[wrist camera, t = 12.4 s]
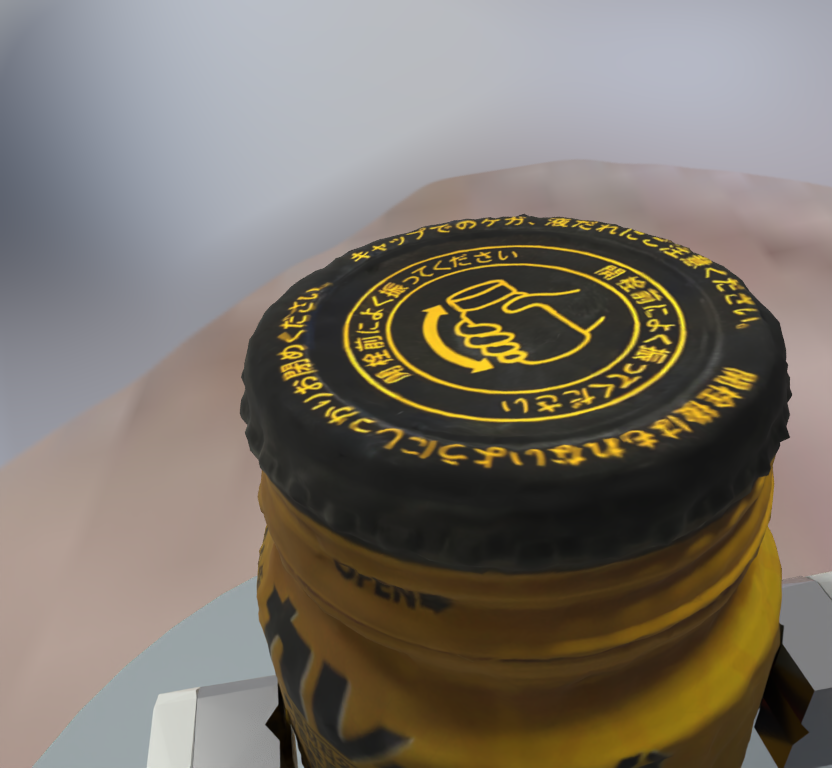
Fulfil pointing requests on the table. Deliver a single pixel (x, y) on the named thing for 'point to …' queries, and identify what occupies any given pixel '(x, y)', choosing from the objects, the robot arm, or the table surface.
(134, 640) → the table surface
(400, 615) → the yellow drink bottle
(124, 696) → the slate plate
